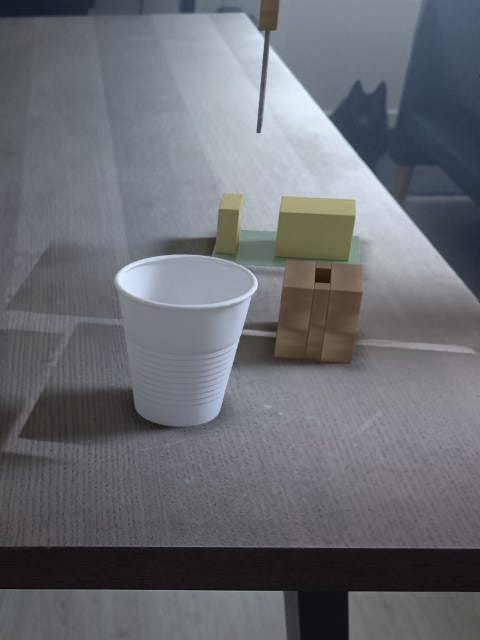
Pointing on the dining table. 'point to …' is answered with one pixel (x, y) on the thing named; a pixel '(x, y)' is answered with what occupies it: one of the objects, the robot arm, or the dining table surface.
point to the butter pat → (229, 223)
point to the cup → (182, 333)
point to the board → (272, 251)
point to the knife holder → (319, 311)
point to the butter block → (315, 228)
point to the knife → (266, 47)
